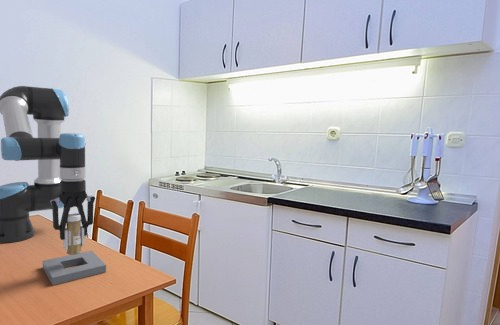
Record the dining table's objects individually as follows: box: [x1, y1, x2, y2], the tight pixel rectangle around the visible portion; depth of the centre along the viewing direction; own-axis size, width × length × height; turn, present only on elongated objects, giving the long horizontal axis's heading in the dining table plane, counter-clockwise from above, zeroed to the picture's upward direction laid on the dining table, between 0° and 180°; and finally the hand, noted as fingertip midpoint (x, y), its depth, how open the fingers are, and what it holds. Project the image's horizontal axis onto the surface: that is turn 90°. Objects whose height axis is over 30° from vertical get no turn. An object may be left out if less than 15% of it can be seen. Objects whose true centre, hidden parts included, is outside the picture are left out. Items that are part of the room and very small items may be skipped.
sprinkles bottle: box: [66, 212, 82, 255], centre depth 111 cm, size 5×5×13 cm
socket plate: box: [42, 250, 107, 286], centre depth 112 cm, size 16×16×2 cm
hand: (74, 246), depth 111 cm, fingers closed on sprinkles bottle, 4 cm apart
